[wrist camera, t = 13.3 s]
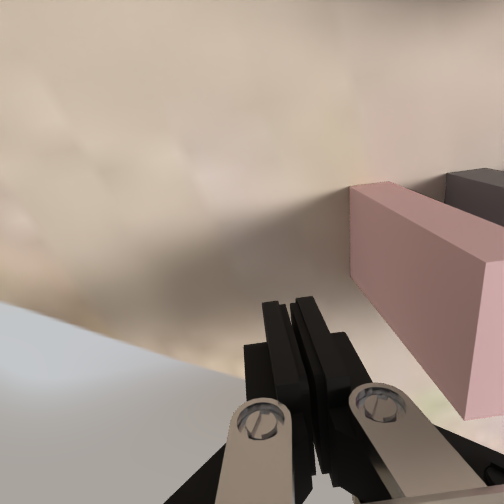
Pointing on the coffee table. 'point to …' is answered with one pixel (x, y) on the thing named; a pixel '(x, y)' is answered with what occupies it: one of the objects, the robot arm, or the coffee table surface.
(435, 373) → the rose domino
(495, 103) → the coffee table surface
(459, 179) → the domino
